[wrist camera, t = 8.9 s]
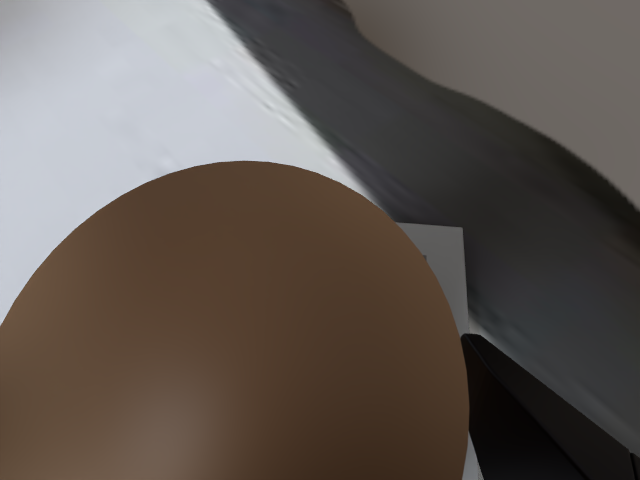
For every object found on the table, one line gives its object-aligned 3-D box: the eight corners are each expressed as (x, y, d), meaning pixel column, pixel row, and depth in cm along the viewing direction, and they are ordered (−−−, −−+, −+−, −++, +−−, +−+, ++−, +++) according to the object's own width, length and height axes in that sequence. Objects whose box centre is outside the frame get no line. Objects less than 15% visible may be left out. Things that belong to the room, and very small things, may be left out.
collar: (475, 587, 13) (522, 660, 10) (111, 532, 14) (46, 582, 11) (455, 234, 19) (481, 207, 16) (196, 213, 20) (170, 184, 17)
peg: (303, 457, 14) (143, 975, 2) (227, 363, 16) (-108, 359, 4) (385, 366, 16) (573, 372, 3) (308, 286, 17) (251, 99, 5)
